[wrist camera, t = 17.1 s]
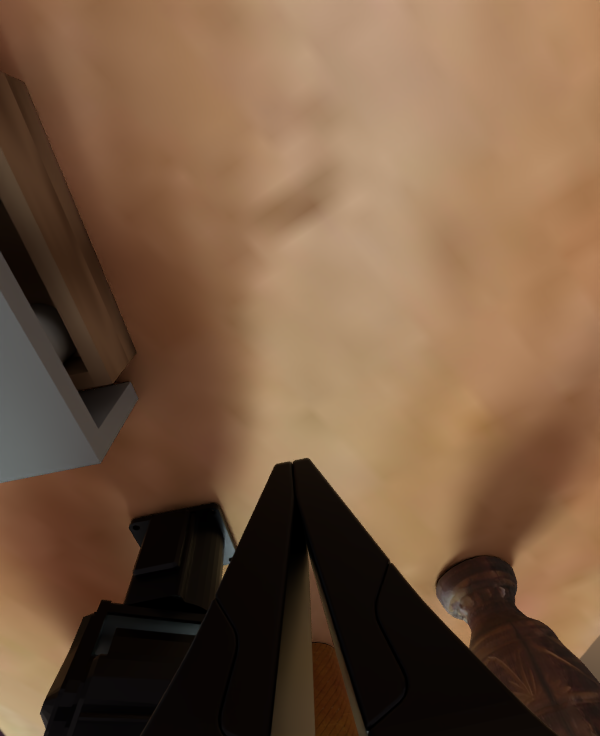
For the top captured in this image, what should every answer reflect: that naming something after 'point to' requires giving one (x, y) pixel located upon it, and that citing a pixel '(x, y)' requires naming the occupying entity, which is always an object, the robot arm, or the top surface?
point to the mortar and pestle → (521, 647)
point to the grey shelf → (47, 398)
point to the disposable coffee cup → (330, 695)
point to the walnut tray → (54, 249)
